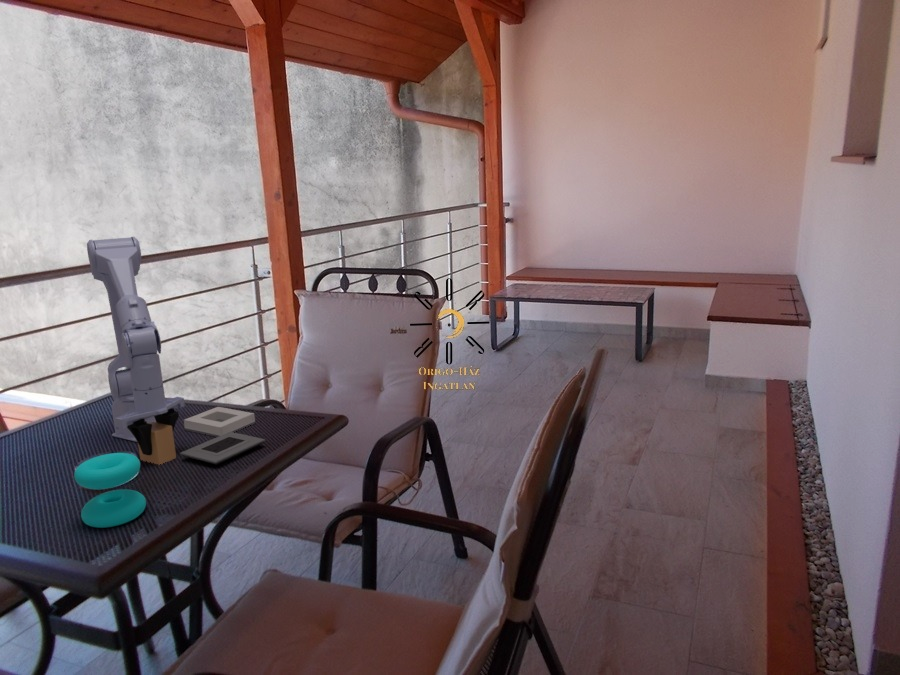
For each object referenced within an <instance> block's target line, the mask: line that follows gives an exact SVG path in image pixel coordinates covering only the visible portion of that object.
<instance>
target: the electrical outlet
mask: <svg viewBox="0 0 900 675" xmlns="http://www.w3.org/2000/svg"><path fill="white" fill-rule="evenodd" d="M265 442H266V439H265V438H261V437H256V436H252V435H247V434H243V433H239V432H235V433H234V432H228V433H226V434H224V435H221V436H219V437H214V438H212V439H209V440H207V441H205V442H202V443H200V444H198V445H196V446H193V447H191V448H188V449H186V450H183V451H181V452H180V453H179V455H181V456H182V457H186V458H190V459H193V460H197V461H202V462H205V463H208V464H212V465H217V466H218V465H220V464H221V463H224V462H225V461H228V460H230V459H233V458H234V457H236V456H238V455H241V454H242V453H245V452H247V451H249V450H251V449H253V448H254V449H255V448H257V447H258V446H260V445H262V444H264V443H265Z"/></svg>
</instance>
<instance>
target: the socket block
mask: <svg viewBox="0 0 900 675" xmlns="http://www.w3.org/2000/svg"><path fill="white" fill-rule="evenodd" d="M255 418H256V415H255V413H254V412H249V411H242V410H240V409H239V410H238V409H233V408H232V409H231V408H228V407H227V408H226V407H222V406H216V407H214V408H211V409H208V410H206V411H203V412H200V413H198V414H196V415H193V416H190V417H187V418H185V419H183V426H184V431H188V432H192V433H195V434H200V435H201V434H202V435H205V434H206V436H210V437H214V438H217V437H219V436H221V435H224V434H226V433H228V432H235V433H237V432H239V431H241V429H242V430H244V429H246V428H248V426H249V427H251V426H253V425H255V424H256V419H255ZM250 425H251V426H250ZM245 427H246V428H245ZM243 428H244V429H243ZM238 430H239V431H238ZM236 431H237V432H236Z"/></svg>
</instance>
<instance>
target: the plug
mask: <svg viewBox="0 0 900 675" xmlns="http://www.w3.org/2000/svg"><path fill="white" fill-rule="evenodd" d="M148 424H152V429H151V444H152V455H145V454H143V453H142V450H141V448H140V446H139V444H138V443H137V447H138V451H139V458H140V459H139V461H142V460H143V461H142V462H146V461H147V463H150V462H151V463H150V464H153V463H154V465H157V464H158V466H161V465H163V463H164V464H166V463H167V462H170V461H173V460H174V459H177V453H176V446H175V439H174V430H173V431H172V426H170V425H166V424H161V423H156V422H150V423H148ZM165 462H166V463H165ZM160 464H161V465H160Z"/></svg>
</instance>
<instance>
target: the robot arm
mask: <svg viewBox="0 0 900 675" xmlns="http://www.w3.org/2000/svg"><path fill="white" fill-rule="evenodd" d="M86 248H87V249H86V251H87V257H88V261H89V266H90V272H91V275H92V276H93V279H94V280H96V281H100V282H102V283H103V285H104V288H105V289H106V292H107V293H106V294H107V298H108V303H109V306H110V307H109V310H110V313H111V319H112V324H113V330H114V334H115V335H114V336H115V340H116V346H117V352H118V355H117V356H116V357H115V358H114V359H113V360H112V361H111V362H109V363H108V367H107V374H108V377H107V378H108V386H109V390H110V394H111V397H112V398H114V400H113V402H112V406H111V413H112V420H113V425H114V426H113V427H114V431H115V432H114V433H111V436H112V437H115V438H118V439H123V440H128V441H132V442H134V443H135V442H136V443H137V445H138V444H139V446H140V448H141V450H142V453H143V454H145V455H152V444H151V429H152V424H148V423H150V422H156V423H161V424H166V425H170V426H172V431H173V432H174V430H175V426H176V424H177V421H178V419H179V418H180V415H179V411H177V410H175V409H178V408H179V409H181V408H183V407H185V406H186V404H185V398H184V397H181V396H176V397H172V398H167V399H166V395H165V388H164V383H163V382H164V381H163V375H162V368H161V360H160V355H159V354H161V352H162V341H161V336H160V332H159V330H158V327H157V325H156V324H155V322H154V321H152V319H151V316H150V315H151V314H150V312H149V308H148V305H147V302H146V300H145V299H144V297H140V296H139V294H138V290H137V289H138V288H137V283H136V278H135V277H136V276H138V275H139V271H140V269H141V264H142V263H141V262H142V252H141V246H140V242H139V240H138V239H137V237H135V236H130V237H121V238H107V239H106V238H105V239H95V240H93V239H89V240H88V241H87V243H86ZM125 367H128V368H125ZM121 368H125V369H121Z"/></svg>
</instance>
